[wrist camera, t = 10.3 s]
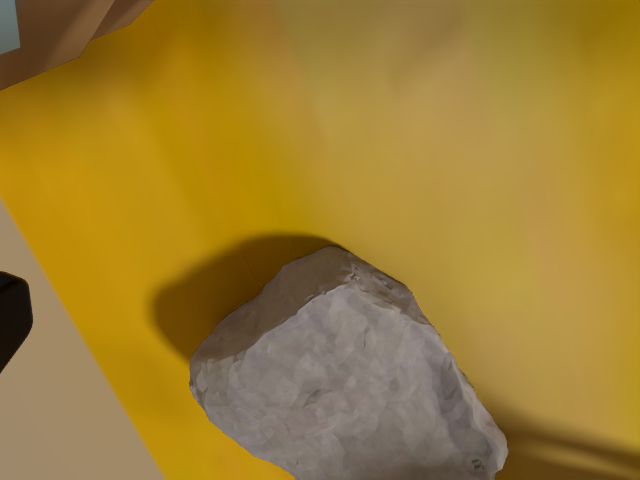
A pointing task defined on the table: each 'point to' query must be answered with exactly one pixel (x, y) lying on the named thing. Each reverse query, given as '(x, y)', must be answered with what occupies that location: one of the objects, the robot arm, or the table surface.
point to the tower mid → (50, 35)
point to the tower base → (121, 15)
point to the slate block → (8, 26)
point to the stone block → (343, 380)
